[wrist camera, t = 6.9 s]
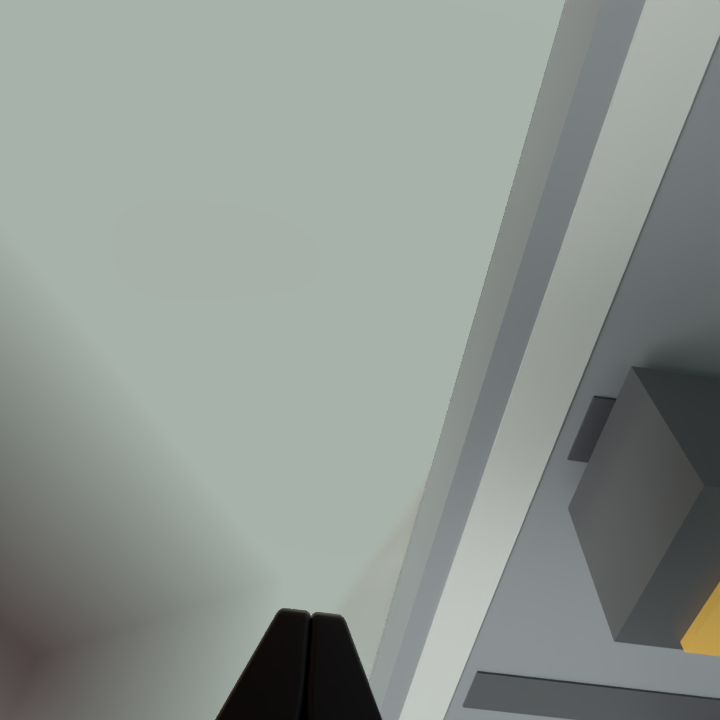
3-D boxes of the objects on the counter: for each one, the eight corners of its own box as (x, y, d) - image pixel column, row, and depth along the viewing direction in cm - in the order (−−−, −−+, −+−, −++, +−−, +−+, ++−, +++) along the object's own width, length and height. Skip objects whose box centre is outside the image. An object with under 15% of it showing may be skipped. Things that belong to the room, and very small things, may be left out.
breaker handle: (702, 526, 15) (785, 671, 12) (567, 508, 14) (617, 652, 11) (785, 389, 13) (908, 522, 10) (630, 366, 12) (710, 495, 10)
